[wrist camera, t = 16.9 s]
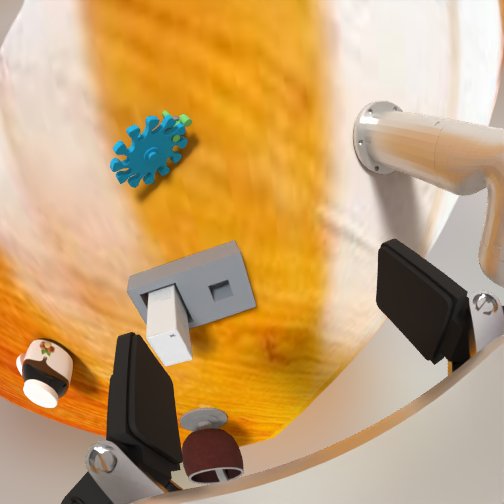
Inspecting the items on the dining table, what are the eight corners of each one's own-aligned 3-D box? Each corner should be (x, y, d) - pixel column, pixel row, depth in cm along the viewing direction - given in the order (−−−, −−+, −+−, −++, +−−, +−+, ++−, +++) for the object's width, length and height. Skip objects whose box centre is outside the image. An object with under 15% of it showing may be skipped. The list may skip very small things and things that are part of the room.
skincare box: (148, 283, 41) (144, 337, 31) (173, 275, 41) (177, 328, 31) (162, 312, 44) (164, 367, 34) (186, 305, 45) (194, 359, 34)
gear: (139, 201, 34) (97, 165, 25) (121, 174, 36) (83, 137, 26) (206, 148, 35) (183, 97, 25) (183, 125, 36) (158, 77, 27)
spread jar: (79, 351, 44) (69, 399, 34) (67, 379, 46) (59, 423, 36) (26, 323, 38) (6, 368, 28) (20, 355, 40) (5, 397, 31)
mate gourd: (166, 415, 58) (176, 487, 41) (217, 400, 59) (236, 474, 42) (194, 437, 66) (207, 497, 49) (239, 423, 67) (259, 485, 50)
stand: (234, 240, 42) (240, 252, 39) (249, 292, 47) (256, 306, 44) (129, 276, 40) (126, 291, 37) (155, 323, 45) (155, 339, 42)
